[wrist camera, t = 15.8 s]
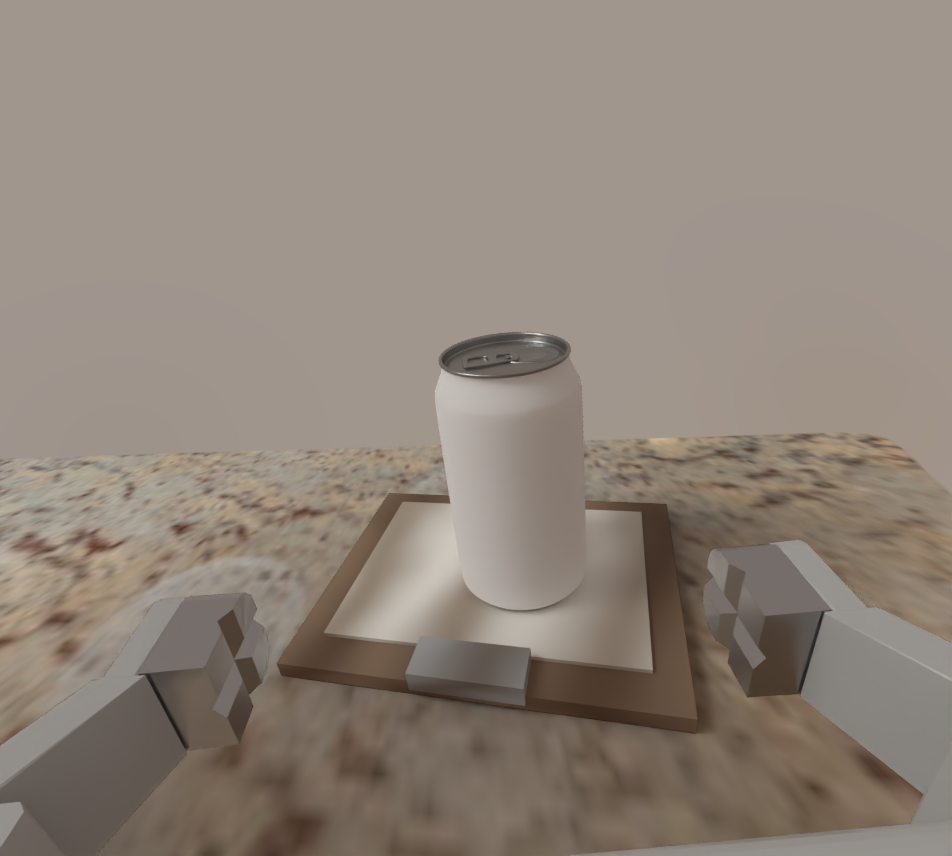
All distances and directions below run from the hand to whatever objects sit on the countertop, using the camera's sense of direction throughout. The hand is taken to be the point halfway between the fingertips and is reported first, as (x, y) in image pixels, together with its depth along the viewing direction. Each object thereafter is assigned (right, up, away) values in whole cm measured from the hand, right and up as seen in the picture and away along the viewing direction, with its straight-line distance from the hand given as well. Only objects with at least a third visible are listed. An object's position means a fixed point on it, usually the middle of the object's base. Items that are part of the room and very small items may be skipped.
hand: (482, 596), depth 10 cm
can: (+2, -5, +18) cm, 19 cm away
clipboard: (+1, -5, +19) cm, 20 cm away
